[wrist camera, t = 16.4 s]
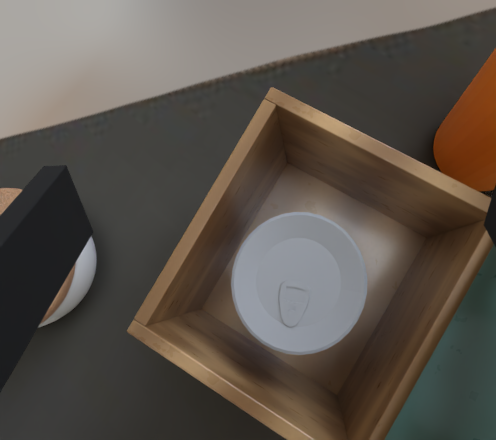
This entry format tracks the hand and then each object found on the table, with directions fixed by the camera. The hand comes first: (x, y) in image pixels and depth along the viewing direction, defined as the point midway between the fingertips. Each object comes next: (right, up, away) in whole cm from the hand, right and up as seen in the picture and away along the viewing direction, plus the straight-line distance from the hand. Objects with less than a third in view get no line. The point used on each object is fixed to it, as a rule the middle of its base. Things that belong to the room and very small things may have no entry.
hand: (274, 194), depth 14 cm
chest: (+4, -5, +22) cm, 23 cm away
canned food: (+4, -6, +21) cm, 22 cm away
